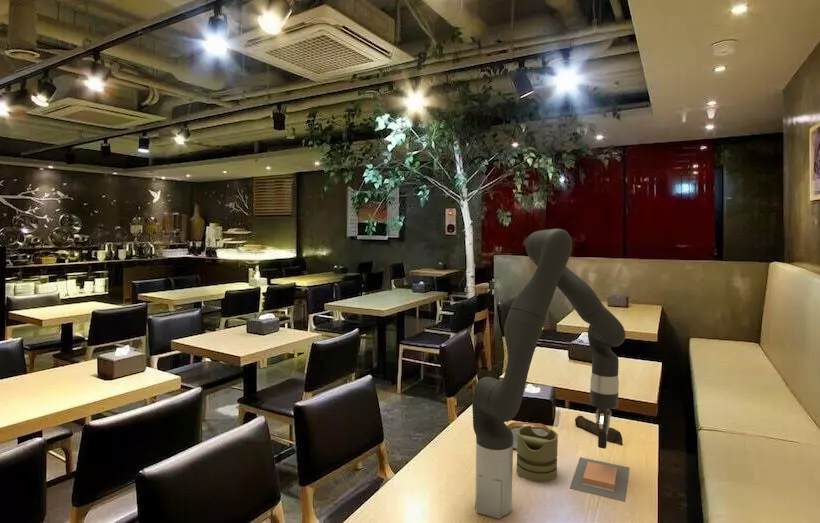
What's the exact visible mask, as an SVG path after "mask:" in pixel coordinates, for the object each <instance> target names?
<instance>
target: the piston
mask: <svg viewBox="0 0 820 523" xmlns="http://www.w3.org/2000/svg"><path fill="white" fill-rule="evenodd" d="M549 430H550V432H549V434H547V435H538V434H536V433H535V432H534V431H533V430H532V428H531V425H529V426H523V427H521V428H519V429H518V431H517V450H516V452H517V453H516V474H517V476H518V477H519V478H520V479H522V478H523V479H525V480H527V481H530V482H534V483H549V482H552V481H554V480H555V479H556V478H557V476H558V474H557V472H558V458H557V457H558V446H559V444H558V441H559V440H558V438H559V435H558V433H557V432H556V431H555V430H554V429H552V428H549Z"/></svg>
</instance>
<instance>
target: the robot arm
mask: <svg viewBox="0 0 820 523" xmlns="http://www.w3.org/2000/svg"><path fill="white" fill-rule="evenodd" d="M572 249H573V240H572V237H571V236H570V234H569V233H568V231H567V230H565V229H561V228H551V229H542V230H536V231H534V232H532V233H531V234H529V235H528V236H527V239H526V241H525V251H526V254H527V256H528V257H529V259H530V260H531V262H533V263H534V265H536V268H535V272H534V273H533V276H532V277H531V279H530V280H529V281H528V282H527V284H526V285H524V287H523V288H522V289H521V290H520V291H519V293H518V294H517V296H516V297H515V298H514V300H513V302H512V303H511V306H510V308H509V310H508V314H507V317H506V319H505V323H504V326H503V327H504V328H503V332H504V333H503V334H504V340H505V346H506V352H507V364H506V368H505V373H504V375H503V378H502V380H500V379H497V378H495V377H492V376H484V377H482V378H480V379H479V380H478V381H476V384H475V386H474V389H473V391H472V400H471V402H472V403H471V404H472V405H471V406H472V409H471V410H472V425H473V426H472V427H473V431H474V434H475V443H476V444H475V508H476V511H475V512H476V513H477V514H480V515H484V516H488V517H491V518H495V519H499V520H500V519H501V518H502V517H505V516H507V515H509V514H510V513H511V512H512V510H513V469H514V468H513V466H514V465H513V464H514V463H513V462H514V461H513V460H514V459H513V458H514V457H513V456H514V455H513V454H514V449H513V433H512V431H511V430H510V429H509V427H508V424H506V423H508V422H510V421H512V420H513V419H514V418H515V417H516V416H517V414H518V412H519V411H520V410H519V409H520V407H521V404H522V402H523V397H524V392H525V388H526V385H527V380H528V374H529V370H530V367H531V363H532V361H533V358H534V354H535V351H536V348H537V344H538V341H539V338H540V337H541V333H542V331H543V327H544V324H545V321H546V318H547V314H548V312H549V309H550V306H551V303H552V300H553V298H554V294H555V291H556V289H557V288H558V290H560V291H561V293H562V294H563V295H564V297H565V298H566V299H567V300H568V301H569V302H568V303H570V305H571V306H572V307H573V308H574V310H575V311H576V313H577V315H578V316H579V317H580V318H581V320H583V322H584V323H587V324H588V328H587V339H588V344H589V350H590V353H591V357H592V361H591V362H592V363H591V374H590V389H589V390H590V392H589V403H590V405H592V406H593V407H596V411H595V423H596V427H597V434H596V436H597V439H598V440H597V447H598V448H599V449H604V450H605V449H607V445H608V444H607V443H608V441H607V435H608V429H609V427H610V425H611V416H612V410H613V409H616V408H618V406H619V392H620V391H619V384H620V382H619V381H620V380H619V366H620V365H619V364H620V363H619V361H620V360H619V357H618V355H617V354H616V353H615V352H613V351H612V349H611V348H616V347H617V348H618V347H620V346H621V345H622V344H623V343H624V342H625V339H626V330H625V328H624V325H623V324H622V322H620V320H619V319H618V318H617V317H616V316H615V315H614V314H613V313H612V311H610V310H609V309H607V308H606V307H605V305H604V303H602V301H601V300H600V298H599V296H598V295H597V293H596V291H594V289H593V288H592V287H591V286H590V285H589V284H588V283H587V282H586V281H584V280H583V279H582V278H580V277H579V276H578V275H577V274H575V272H573V271H572V270H571V269H569V267H568V266H567V264H568V262H569V260H570V257H571V253H572ZM610 409H611V410H610Z"/></svg>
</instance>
